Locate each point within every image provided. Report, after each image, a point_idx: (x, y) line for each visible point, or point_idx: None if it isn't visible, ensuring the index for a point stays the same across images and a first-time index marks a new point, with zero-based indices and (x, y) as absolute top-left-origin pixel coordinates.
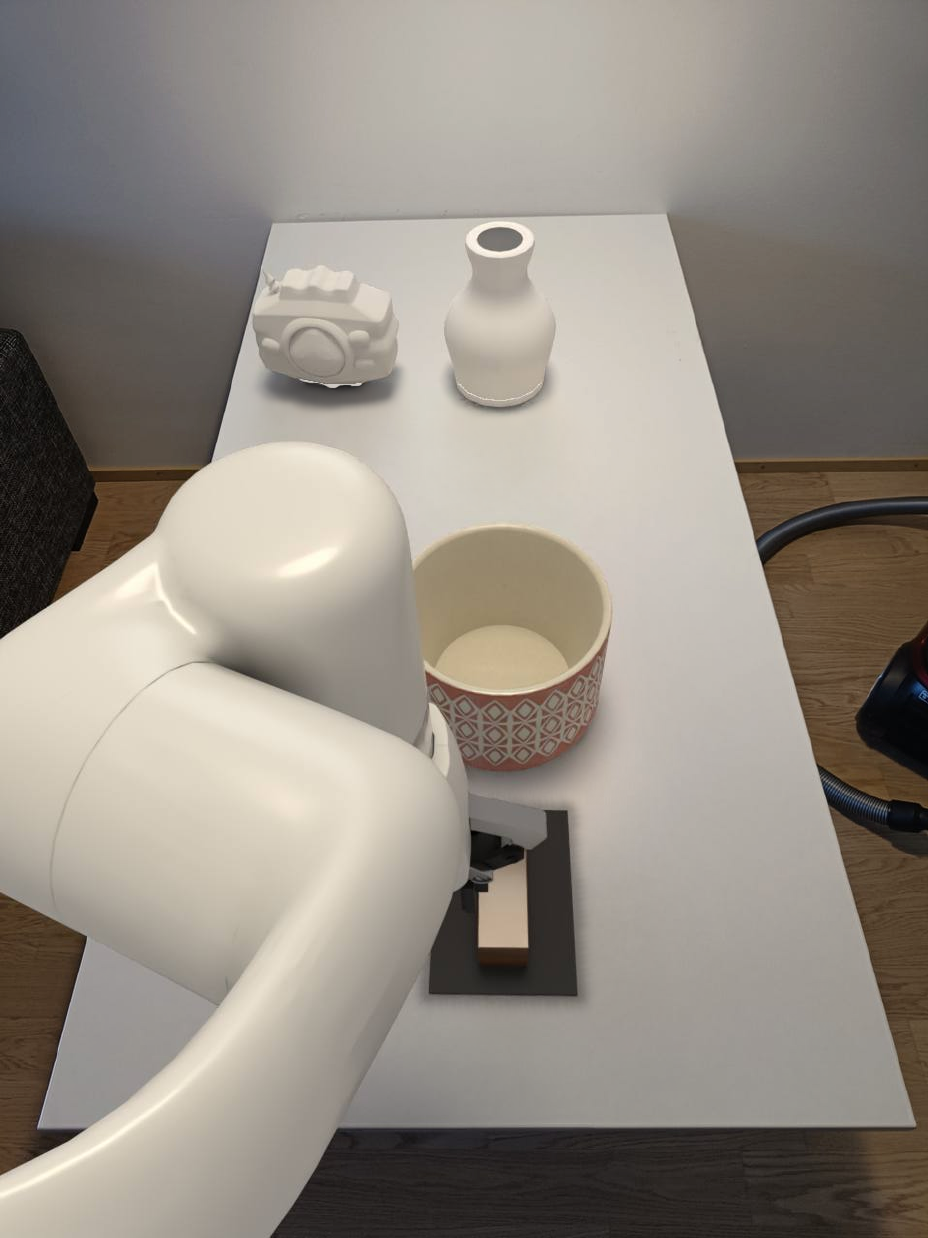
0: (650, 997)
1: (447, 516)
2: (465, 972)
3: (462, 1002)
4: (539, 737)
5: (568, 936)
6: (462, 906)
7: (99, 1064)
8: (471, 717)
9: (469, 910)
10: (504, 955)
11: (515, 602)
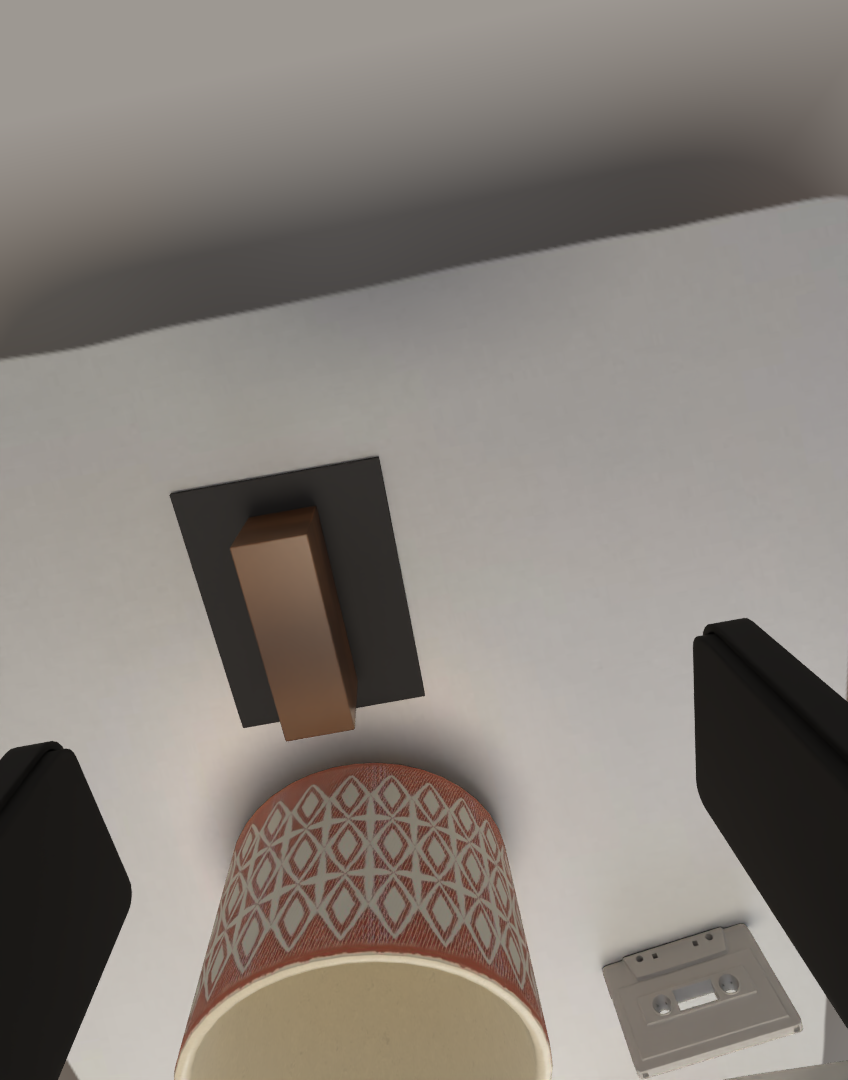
0: (69, 510)
1: None
2: (333, 494)
3: (329, 454)
4: (283, 845)
5: (201, 567)
6: (34, 784)
7: (827, 273)
8: (383, 879)
9: (12, 769)
10: (272, 529)
11: (369, 1006)
